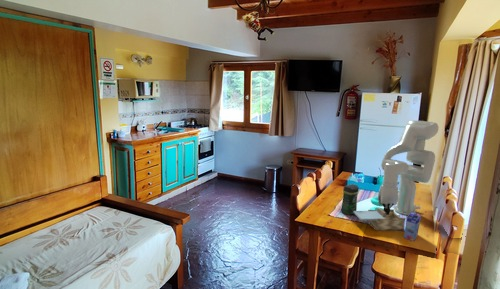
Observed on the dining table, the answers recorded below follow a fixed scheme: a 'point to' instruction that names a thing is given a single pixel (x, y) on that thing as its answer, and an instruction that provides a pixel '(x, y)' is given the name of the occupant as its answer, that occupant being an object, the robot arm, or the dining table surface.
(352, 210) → the coffee jar
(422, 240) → the dining table surface
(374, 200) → the donuts
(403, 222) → the birch box
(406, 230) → the ink cartridge box
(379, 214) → the cover plate
